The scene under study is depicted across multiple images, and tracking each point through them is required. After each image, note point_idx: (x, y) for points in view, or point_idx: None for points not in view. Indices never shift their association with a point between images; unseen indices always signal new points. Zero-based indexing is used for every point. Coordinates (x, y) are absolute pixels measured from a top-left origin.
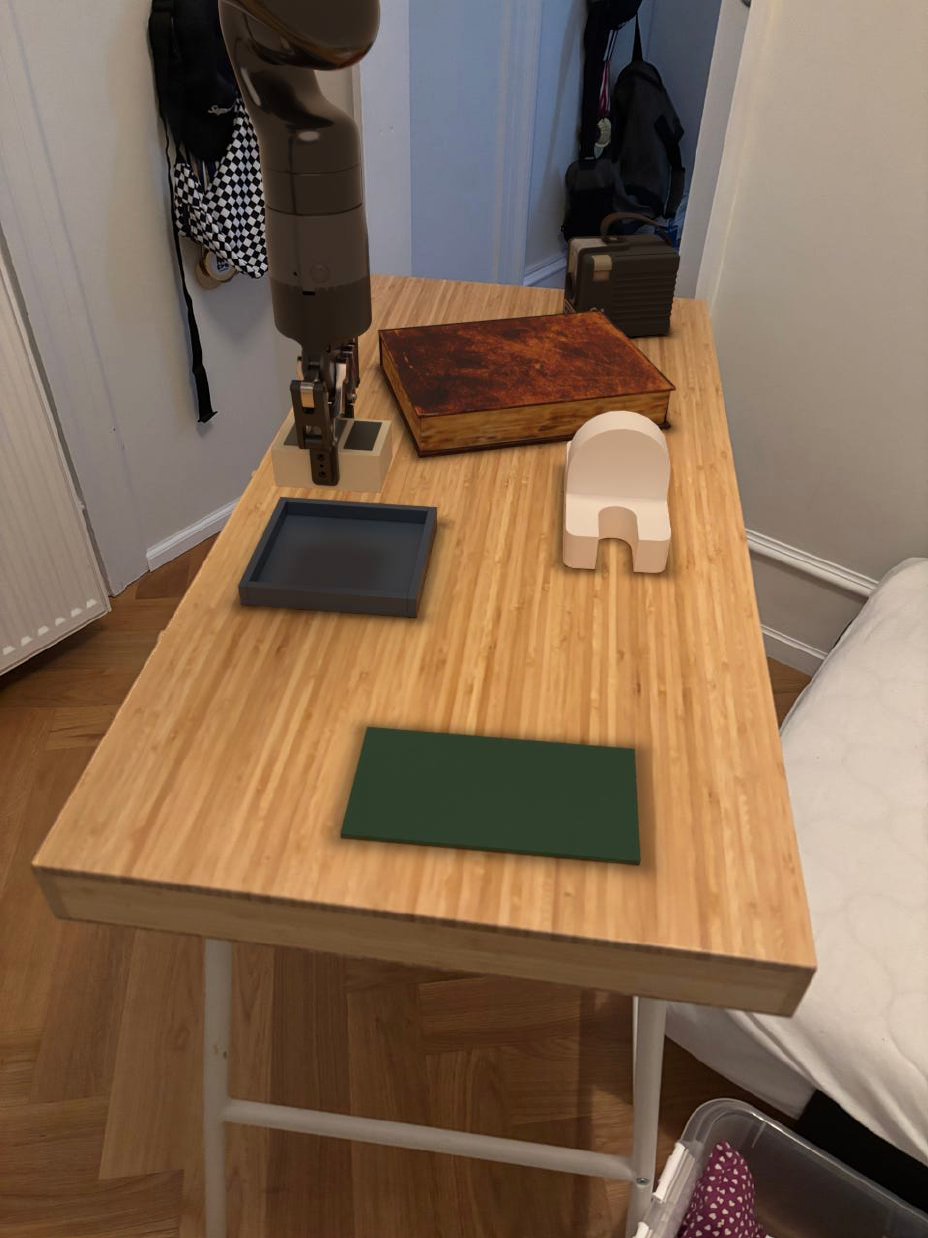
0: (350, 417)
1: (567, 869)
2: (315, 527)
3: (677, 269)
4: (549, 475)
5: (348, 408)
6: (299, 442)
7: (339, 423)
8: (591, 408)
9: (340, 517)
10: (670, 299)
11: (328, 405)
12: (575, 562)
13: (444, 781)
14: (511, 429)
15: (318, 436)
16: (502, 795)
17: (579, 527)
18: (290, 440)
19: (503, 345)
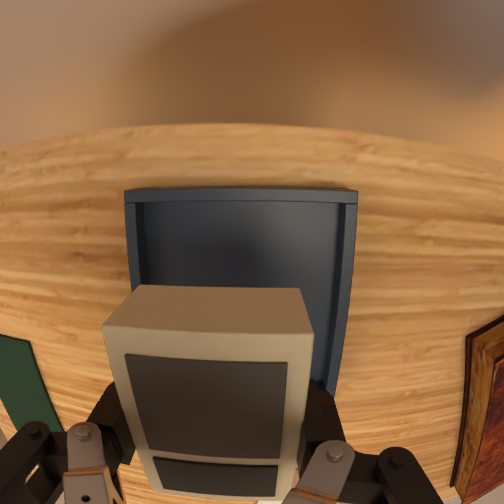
0: (297, 457)
1: (12, 423)
2: (308, 249)
3: None
4: (408, 446)
5: (300, 472)
6: (18, 433)
7: (259, 449)
8: (469, 469)
9: (334, 279)
10: None
11: (312, 443)
12: None
13: (17, 384)
14: (473, 418)
15: (41, 469)
16: (24, 410)
17: (271, 501)
18: (143, 370)
19: None
